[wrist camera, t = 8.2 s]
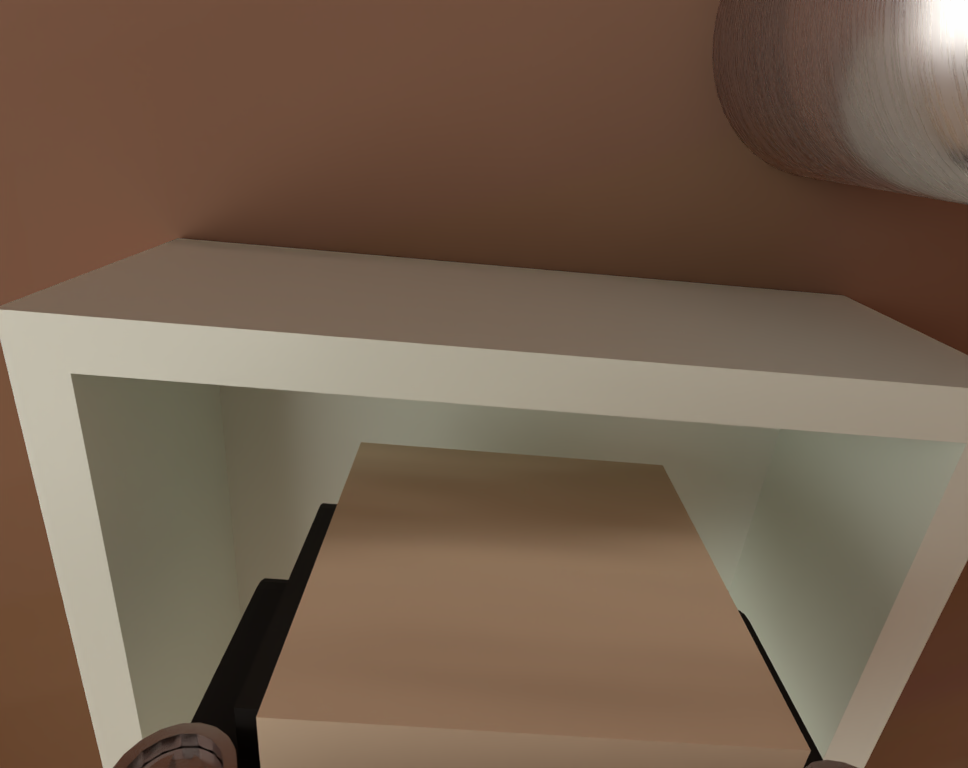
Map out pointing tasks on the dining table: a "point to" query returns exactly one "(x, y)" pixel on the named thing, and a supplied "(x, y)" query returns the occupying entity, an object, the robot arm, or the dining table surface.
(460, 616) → the maple cube
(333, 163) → the dining table surface
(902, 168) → the steel cylinder
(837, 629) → the tote
